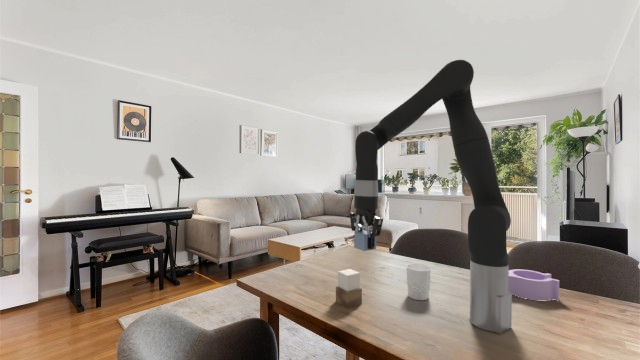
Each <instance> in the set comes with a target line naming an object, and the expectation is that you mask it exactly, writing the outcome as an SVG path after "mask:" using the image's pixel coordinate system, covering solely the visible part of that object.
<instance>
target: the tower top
mask: <svg viewBox="0 0 640 360" xmlns="http://www.w3.org/2000/svg"><path fill="white" fill-rule="evenodd" d="M360 275H361V274H360V272H359V271H357V270H353V269H351V268H347V269H342V270H338V271H337V286H338V287H340V288H342V289H344V290H346V291H351V290H355V289H359V288H361V286H360V285H361V283H360V282H361V281H360V280H361V279H360V278H361V276H360Z"/></svg>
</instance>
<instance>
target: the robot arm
mask: <svg viewBox="0 0 640 360" xmlns="http://www.w3.org/2000/svg"><path fill="white" fill-rule="evenodd" d="M474 74H475V71H474V67H473V65H472V64H471V63H470V61H468V60H465V59H454V60H451V61H450V62H447V63H446V64H445V65H444V66H443V67H442V68H441V69H440V70H439V71H438V72H437V73H436V74H435V75H434V76H433V77H432V78H431V79H430V80H428V81H427V83H426V84H424V85H423V86H422V87H421V88H420V89H419V90H418V91H417V92H415V93H414V94H413V95H412V96H411V97H409V98H408V99H407V100H406V101H404V102H403V103H402V104H400V105H399V106H398V107H396V108H395V109H393V110H392V111H390V112H389V113H388V114H387V115H385V116H384V117H383V118H382V119H380V121H379V122H378V123H377V124H376V125H375V126H373V127H372V128H371V129H369V130H364V131H361V132H360V133H358V134H357V137H356V139H355V142H354V143H355V146H354V147H355V150H354V152H355V153H354V154H355V162H356V163H355V164H356V167H355V183H354V194H353V195H354V197H353V201H354V202H353V203H354V204H353V207H354V209H355V210H356V211H355V212H350V213H349V217H350V218H349V219H350V227H351V228H350V229H351V231H352V232H359V231H367V235H368V244H367V248H368V249H373V248H374V246H375V237H376V238H377V237H380V235H381V233H382V227H383V222H384V218H383V217H379V216H377V212H376V211H377V210H378V208H379V182H378V181H379V178H378V175H379V169H378V166H379V165H378V163H377V162H378V151H379V150H380V149H381V148H383V147H384V146H385V145H386V144H388V142H390V141H391V140H393V139H394V138H395V137H397V136H398V135H400V134H402V133H403V132H404V131H405V130H407V129H409V128H410V127H411V126H412V125H413V124H415V123H416V122H417V121H418V120H420V118H421V117H422V116H423V115H425V113H426V112H427V111H428V110H429V109H430V108H432V107H433V106H434V105H435V104H437V103H438V102H440V101H441V100H442V101H443V105H444V107H445V110H446V113H447V116H448V122H449V130H450V136H451V137H450V138H451V141H452V147H453V150H454V155H455V158H456V162H457V164H458V167H459V169H460V171H461V173H462V175H463V177H464V179H465V181H466V183H467V184H468V186H469V188H470V191H471V192H470V193H471V196H472V201H473V206H474V208H473V209H472V210H471V212H470V213H469V216H468V218H467V219H468V220H467V246H468V252H469V256H470V260H469V261H470V262H469V263H470V265H469V266H470V267H469V270H470V271H469V272H470V273H469V276H470V277H469V321H470V323H471V324H472V325H474V326H475V327H477V328H479V329H481V330H485V331H487V332H495V333H497V334H502V333H504V332H506V331H508V330H510V329H511V328H512V324H513V323H512V321H513V320H512V316H513V315H512V313H513V312H512V311H513V309H512V307H513V305H512V304H513V301H512V300H513V298H512V297H513V296H512V293H511V292H508V270H509V268H510V267H509V263H510V262H509V261H510V260H509V258H510V257H509V254H508V251H507V250H508V249H507V231H509V229H510V227H511V223H512V219H511V215H510V212H509V209H508V207H507V205H506V203H505V199H504V197H503V194H502V192H501V189H500V186H499V181H498V178H497V172H496V171H497V170H496V165H495V161H494V157H493V151H492V147H491V144H490V140H489V136H488V133H487V131H486V128H485V126H484V125H483V123H482V121H481V119H480V118H479V116H478V114H477V113H476V110H475V108H474V105H473V104H474V103H473V98H472V92H471V85H472V83H473V81H474V80H473V79H474ZM371 232H372V233H371ZM373 250H374V249H373ZM509 328H510V329H509Z"/></svg>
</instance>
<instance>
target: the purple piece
mask: <svg viewBox="0 0 640 360" xmlns="http://www.w3.org/2000/svg"><path fill="white" fill-rule="evenodd" d="M508 292H511V293H512V295H516V296H519V297H522V298H527V299H532V300H549V299H556V300H559V301H560V280H559V279H556V278H552V273H542V272H540V271H536V270H531V269H518V268H517V269H508ZM516 296H515V297H516ZM519 297H518V298H519ZM522 298H521V299H522Z"/></svg>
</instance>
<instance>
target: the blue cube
mask: <svg viewBox="0 0 640 360" xmlns="http://www.w3.org/2000/svg"><path fill="white" fill-rule="evenodd" d="M353 232H354V235H353V239H354V241H353V248H355V249H358V250H360V251H363V252H366V251H372V250H373V251H374V250H377V236H376V237H375V246H374V248H373V249H368V248H367V244H368V235H367V231H366V230H363V231H359V232H355V231H353ZM371 233H372V231H371Z"/></svg>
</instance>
